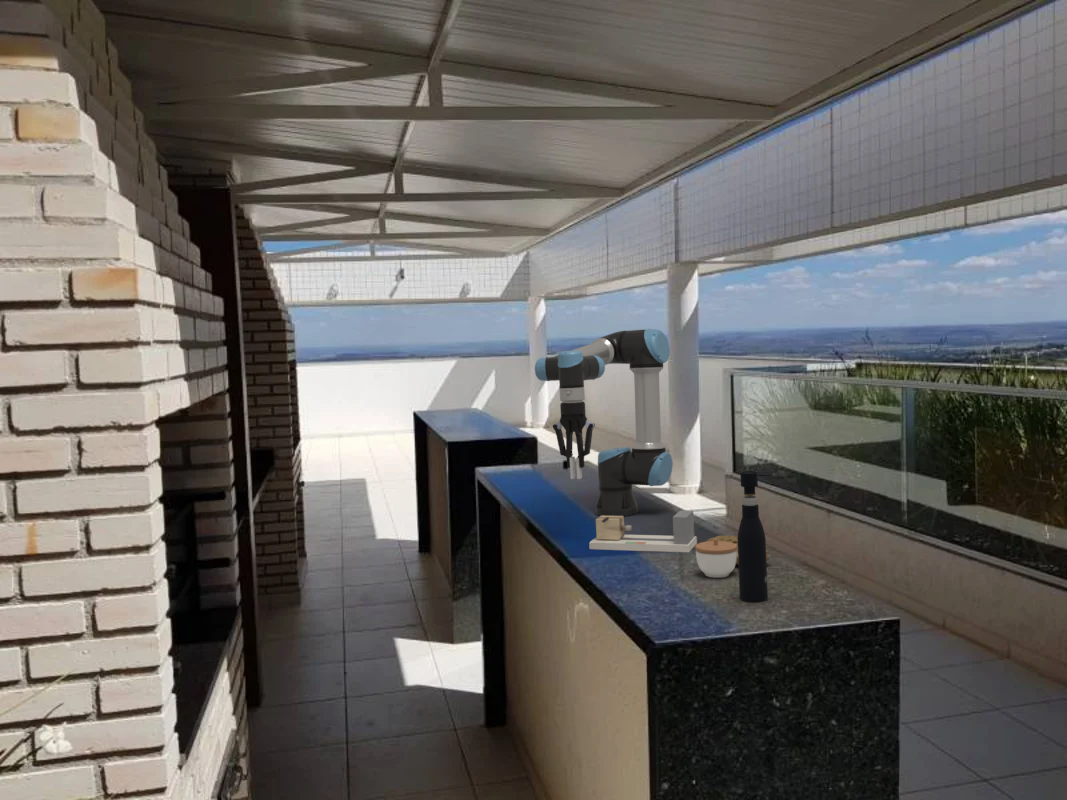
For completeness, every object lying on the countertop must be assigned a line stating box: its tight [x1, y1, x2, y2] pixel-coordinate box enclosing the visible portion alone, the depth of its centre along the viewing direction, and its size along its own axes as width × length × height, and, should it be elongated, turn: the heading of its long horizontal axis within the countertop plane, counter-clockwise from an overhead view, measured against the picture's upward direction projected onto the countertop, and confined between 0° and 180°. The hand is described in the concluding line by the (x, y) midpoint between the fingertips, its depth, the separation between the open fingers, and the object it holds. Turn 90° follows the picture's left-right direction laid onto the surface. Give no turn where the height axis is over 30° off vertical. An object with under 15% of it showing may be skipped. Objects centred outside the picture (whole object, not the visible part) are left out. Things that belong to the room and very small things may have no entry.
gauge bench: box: [588, 510, 698, 553], centre depth 278 cm, size 12×30×10 cm, turn 69°
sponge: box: [705, 534, 769, 565], centre depth 255 cm, size 13×8×20 cm
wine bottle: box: [737, 470, 769, 603], centre depth 218 cm, size 6×6×30 cm
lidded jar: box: [694, 539, 737, 579], centre depth 241 cm, size 11×11×9 cm
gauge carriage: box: [595, 515, 633, 540], centre depth 279 cm, size 10×10×7 cm
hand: (576, 478), depth 284 cm, fingers closed
